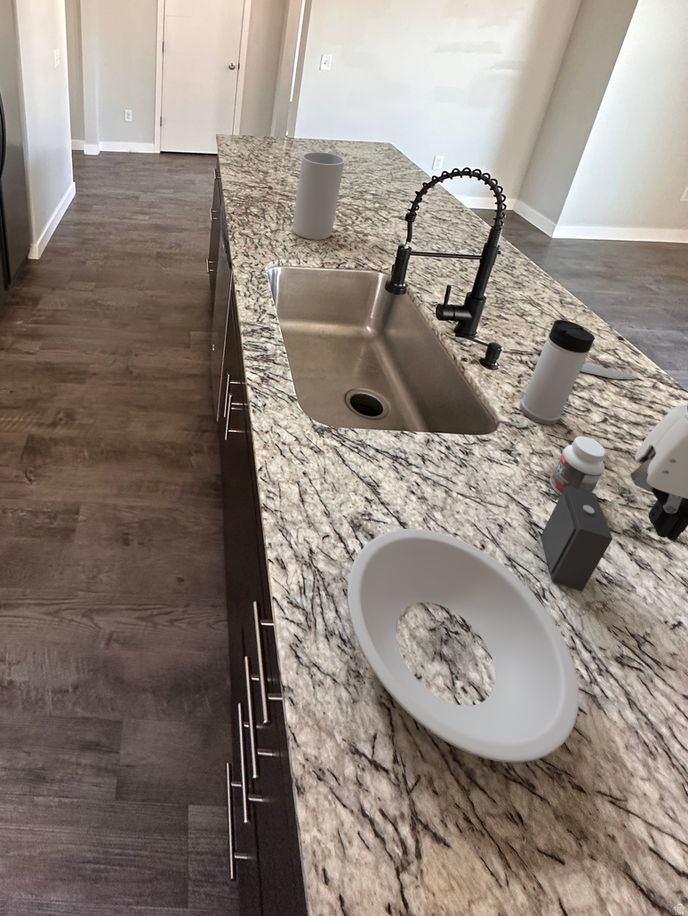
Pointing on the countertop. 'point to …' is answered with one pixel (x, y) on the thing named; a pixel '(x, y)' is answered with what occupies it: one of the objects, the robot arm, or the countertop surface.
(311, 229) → the cylinder vase
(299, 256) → the countertop surface
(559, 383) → the travel mug
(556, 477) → the pill bottle
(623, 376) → the chef's knife
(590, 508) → the dark gray rectangular block
